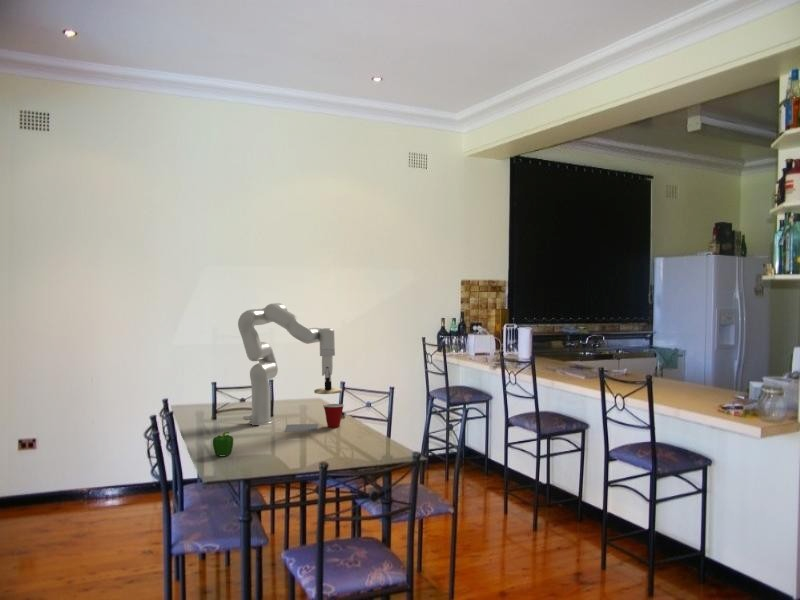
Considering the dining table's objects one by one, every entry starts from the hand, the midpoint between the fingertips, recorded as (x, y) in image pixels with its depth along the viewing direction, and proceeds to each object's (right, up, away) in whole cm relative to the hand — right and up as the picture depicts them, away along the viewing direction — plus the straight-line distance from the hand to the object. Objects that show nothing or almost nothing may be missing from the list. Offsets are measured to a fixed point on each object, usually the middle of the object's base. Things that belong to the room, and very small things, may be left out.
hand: (328, 388), depth 306 cm
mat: (-13, -20, -1) cm, 24 cm away
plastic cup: (+3, -20, +1) cm, 20 cm away
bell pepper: (-39, -21, -49) cm, 66 cm away
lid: (0, -2, 0) cm, 2 cm away
